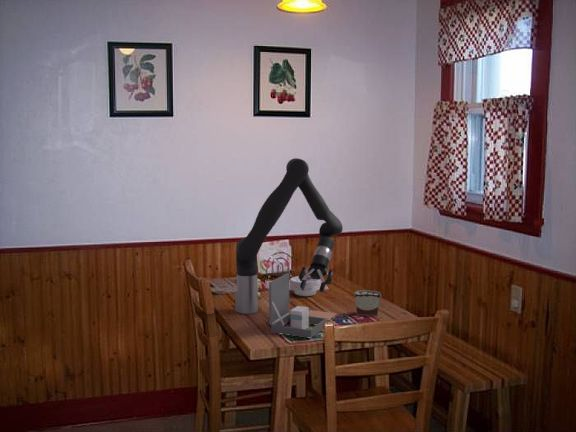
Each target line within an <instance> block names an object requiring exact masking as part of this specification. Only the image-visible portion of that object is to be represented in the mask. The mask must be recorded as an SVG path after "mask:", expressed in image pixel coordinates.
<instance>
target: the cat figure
mask: <svg viewBox="0 0 576 432" xmlns="http://www.w3.org/2000/svg"><path fill="white" fill-rule="evenodd" d="M257 280H258V289H260V288H261V290H260V292H259V291H258V300H260V299H262V296H261V292H263V291H265V289H266V285H265V283H263V281H261V279H260V278H257Z"/></svg>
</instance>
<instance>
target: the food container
mask: <svg viewBox="0 0 576 432" xmlns="http://www.w3.org/2000/svg"><path fill="white" fill-rule="evenodd" d="M353 298H354V299H355V300H354V301H355V312H356V316H379V307H380V301H381V298H382V294H381V292H379V291H376V290H370V289H365V290H364V289H362V290H357V291H355V292H354V294H353Z"/></svg>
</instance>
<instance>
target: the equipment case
mask: <svg viewBox="0 0 576 432" xmlns="http://www.w3.org/2000/svg"><path fill="white" fill-rule="evenodd" d="M268 284H269V285H268V286H269V287H268V289H269V290H268V293H269V295H268V297H269V299H268V303H269V305H268V306H269V307H268V310H269V313H268V314H269V316H268V317H269V318H268V319H269V322H268V323H269V325H270V332H271V333H270V334H274V333H283V334H289V335H295V336H303V337H312V336H314V335H315V334H317V333H318V332H319V331H321V330H322V328H323V324H324V323H326V322H327V318H320V317H313V316H309V323H310V324H317V325H314V326H313V327H311V329H309V328H308V329H301V328H294V327H291V326H287V324H286V323H288V322H289V323H291V322H290V321H291V319H290V314H291V312H290V272H287V273H285V274H282V275H281V276H279V277H278V278H275V279H273V280H270V281H269V282H268ZM289 323H288V324H289ZM327 323H328V322H327ZM285 324H286V325H285ZM284 325H285V326H284ZM322 331H323V330H322ZM322 331H321V332H322ZM318 334H319V333H318ZM318 334H317V335H318Z"/></svg>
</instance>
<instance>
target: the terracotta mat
mask: <svg viewBox="0 0 576 432" xmlns="http://www.w3.org/2000/svg"><path fill="white" fill-rule="evenodd" d="M335 315H336V316H337V315H338V313H334V312H327V311H322V310H321V311H320V310H312V309H310V310H309V316H313V317H320V318H327V320H329V321H331V320H332V319H333V318H335V317H336V316H335ZM332 317H333V318H332ZM331 318H332V319H331ZM330 319H331V320H330Z"/></svg>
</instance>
